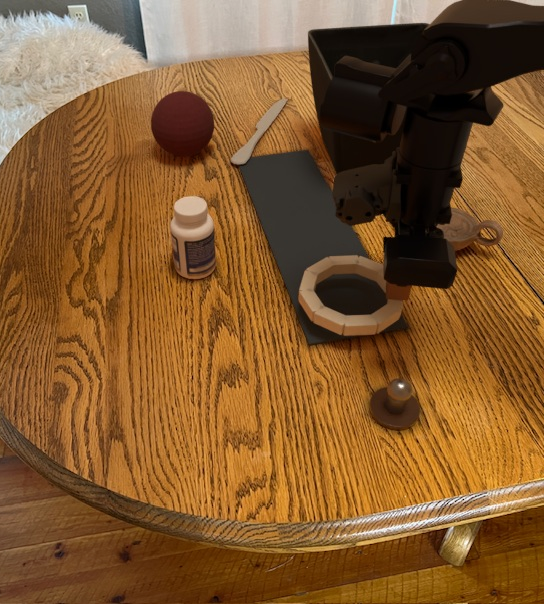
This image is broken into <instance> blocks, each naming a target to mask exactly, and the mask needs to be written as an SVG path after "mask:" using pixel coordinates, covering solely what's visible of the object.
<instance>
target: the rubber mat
mask: <svg viewBox="0 0 544 604" xmlns="http://www.w3.org/2000/svg"><path fill="white" fill-rule="evenodd" d="M237 166H238V169H239V172H240V174H241V176H242V179H243V183H244V184H245V187H246V189H247V192H248V195H249V197H250V199H251V202H252V204H253V207H254V209H255V212H256V215H257V218H258V220H259V223H260V225H261V227H262V231H263V233H264V235H265V238H266V240H267V243H268V245H269V248H270V250H271V253H272V255H273V258H274V260H275V263H276V265H277V268H278V270H279V273H280V275H281V278H282V280H283V283H284V286H285V289H286V291H287V293H288V296H289V299H290V301H291V303H292V306H293V309H294V312H295V314H296V316H297V319H298V321H299V324H300V327H301V329H302V331H303V334H304V336H305V339H306V341H307V344H308V346H313V345H319V344H325V343H332V342H337V341H342V340H350V339H355V338H361V337H366V336H368V335H349V336H344V335H343V333H342V335H340V334H337V333H335V332H333V331H331V330H329V329H326V328H324V327H322V326H320V325H317V324H315V323H314V321H311V320H310V318H309V317H308V315H307V313H306V312H305V310H304V309H303V307H302V306H301V304H300V302H299V299H298V298H299V289H300V285H301V282H302V279H303V275H304V272H305V270H306V269H307V268H309V267H310V266H312V265H314V264H316V263H317V262H319V261H321V260H323V259H324V258H326V257H328V258H329V256H352V255H358V258H359V256H362V257H365V258H367V259H370V260H372V259H371V257H370V256H369V254H368V252H367V251H366V248H365V246H364V245H363V243H362V242H361V239H360V238H359V235H358V234H357V233H356V231H355V230H354V228H353V226H350V225H347V224H346V223H343V222H341V221H340V219H339V218H337V217H336V215H335V214H336V206H335V202H334V199H333V196H332V192H333V190H332V188H331V186H330V185H329V184H328V181H327V180H326V178H325V176H324V175H323V173H322V172H321V170H320V167H319V166H318V165H317V162H316V161H315V159H314V157H313V155H312V153H311V152H310V150H309V149H303V150H302V149H301V150H294V151H288V152H279V153H271V154H264V155H263V154H262V155H256V156H250V158H249V159H248V161H247V162H246V163H245V164H243V165H237ZM315 293H316V295H317V296H318V298H319V299H320V301H321V302H322V304H323V305H324V306H325V307H327V308H330V309H332V310H334V311H337V312H339V313H341V314H343V315H346V316H350V315H371V314H373V313H374V312H376V311H377V310H379V309H380V308H382V307H383V306H385V305H387V301H388V299H386V293H385V292H384V291H383V289H382V288H381V287H380V286H379V284H378V283H377V282H376V281H373V280H371V279H368V278H366V277H363V276H361V275H358V274H356V273H353V274H333V275H331V276H329V277H328V278H326V279H324V280H323V281H321V282H319V283H318V284H317V285H316V288H315ZM409 328H410V327H409V325H408V323H407V321H406V319H405V318H404V316H403V314H402V313H401V315H400V318H399V319H398V320H397V321H396V322H394V323H393V324H391V325H390V326H388V327H387V328H385V329H384V330H382V331H381V332H379V333H378V334H377V333H375V335H379V334H383V333H384V334H385V333H390V332H396V331H401V330H407V329H409Z"/></svg>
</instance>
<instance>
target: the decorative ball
mask: <svg viewBox="0 0 544 604" xmlns="http://www.w3.org/2000/svg"><path fill="white" fill-rule="evenodd" d="M151 113H152V114H151V117H150V129H151V133H152V136H153V138H154V141H155V142H156V143H157V145H158V146H159V147H160V148H161V149H162V150H163V151H165V152H166V153H167V154H168V155H171V156H174V157H178V158H189V157H193V156H195V155H197V154H199V153H201V152H202V151H204V149H206V147H207V146H208V145H209V143H210V142H211V141H212V138H213V134H214V132H215V119H214V114H213V112H212V109H211V107H210V106H209V104H208V102H207V101H206V100H204V99H203V98H202V97H201V96H200V95H198V94H196V93H194V92H191V91H187V90H178V91H173V92H170V93H168V94H166V95H165V96H163V97H162V98H161V99H160V100H158V102H157V104H156V105H155V106H154V108H153V111H152V112H151Z"/></svg>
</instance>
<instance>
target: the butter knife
mask: <svg viewBox="0 0 544 604" xmlns="http://www.w3.org/2000/svg"><path fill="white" fill-rule="evenodd" d="M288 100H289V99H288V98H282V99H279V100H278V101H276V102H275V103H274V104H272V105H271V106H270V108H269V109H268V110H267V111H266V112H265V113H264V114H263V115H262V117H261V118H260V119H259V121H258V122H257V123H256V125H255V128H256V129H257V130H256V131H255V133H254V134H253V136H251V138H250V139H249V140H248V141H247V142H246V143H245V144H244V145H243V146H242V147H240V148H239V149H238V150H237V151H236V152H235V153H234V154H233V156H232V157H231V158H230V162H231V163H232V164H233V165H236V166H238V165H243V164H245V163H246V162H247V161H248V159H249V158H250V157H252V154H253V151H254V149H255V147H256V145H257V143H258V142H259V140H260V139H261V138H262V137H263V136H264V134H265V132H266V131H267V130H268V129H269V127H271V125H272V124H273V122H274V121H275V120H276V118H277V117H278V115H279V114H280V112H281V111H282V110H283V108H284V106H285V105H286V103H287V102H288Z"/></svg>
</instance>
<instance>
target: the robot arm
mask: <svg viewBox="0 0 544 604" xmlns="http://www.w3.org/2000/svg"><path fill="white" fill-rule="evenodd" d="M429 24H430V25H429V26H428V27H427V28H426V29H425V30H424V31H423V32H422V33H421V34H420V36H419V37H418V38H417V39H416V41H415V43H414V46H413V49H412V51H411V54H410V55H409V56H408V57H407V58H406V59H405V60H404V61H403V62H402V63H401V64H400V65H399V66H398V67H397V68H391V67H387V66H382V65H377V64H373V63H368V62H364V61H362V60H360V59H358V58H355V57H350V56H344V57H343V58H342V59H341V60H340V61H338V62H337V63H336V64H335V69H334V76H333V78H332V80H331V81H330V84H329V86H328V89H327V91H326V95H325V98H324V102H322V104H321V108H320V123H321V126H322V127H323V128H324V129H327V130H331V131H335V132H339V133H342V134H346V135H350V136H354V137H357V138H361V139H365V140H369V141H372V142H376V143H380V142H381V141H383V139H384V138H385V136H386V135H387V134H390V135H395V134H396V132H397V131H398V129H399V127H400V125H401V123H402V120H403V118H404V114H405V111H406V107H408V108H407V113H406V118H405V123H404V128H403V133H402V138H401V143H400V147H397V148H396V151H393V153H392V156H391V157H389V158H388V159H386V160H385V162H384V164H380V165H378V164H372V165H368V166H364V167H359V168H355V169H351V170H346V171H342V172H340V173H338V174H337V175H336V174H335V175H334V177H333V182H332V196H333V199H334V202H335V206H336V214H335V215H336V217H337V218H339V219H340V221H341V222H343V223H346V224H347V225H350V226H352V227H353V226H358V225H363V224H367V223H373V221H374V220H375V219H376V217H379V216H382V217H384V218H385V222H386V223H389V224H390V225H391V226H392V228H393V229H394V236H392V237H391V236H383V237H382V246H383V247H382V251H383V260H382V261H383V263H382V264H383V273H384V280H386V281H387V282H388V283H390V284H396V285H397V286H400V287H407V286H408V285H409V286H412V287H422V288H429V289H441V290H448V289H449V288H451V287H453V285H454V282H455V280H456V277H457V275H458V264H457V257H456V251H455V250H454V246H453V245H452V244H451V243H450V242H449V241H448V240H447V239H446V238H444V232H443V230H442V229H440V228H437V225H438V224H439V223H443V224H450V221H451V217H452V212H451V207H452V206H451V201H452V198H453V195H454V191H455V189H461V187H462V183H463V180H464V178H463V172H462V167H461V166H462V163H463V159H464V157H465V153H466V149H467V146H468V142H469V140H470V139H469V138H470V135H471V131H472V128H473V125H474V124H476V125H480V126H485V127H491V126H493V125H494V123H495V121H496V120H497V118H498V117H499V115H500V113H501V111H502V110H503V108H504V102H503V101H502V99H500V97H499V96H498V95H496V94H495V93H494V91H493V88H492V87H494V86H497V85H499V84H501V83H504V82H507V81H509V80H512V79H515V78H516V77H519V76H522V75H526V74H530V73H531V74H532V73H535V72H540V71H544V5H534V4H529V3H525V2H519V1H515V0H457V1H454V2H453V3H451V4H449V5H448V6H446V7H445V9H443V10H442V11H441V12H440V13H439V14H438V15H437V17H435V18H434V19H433V20H432V21H431V23H429Z"/></svg>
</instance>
